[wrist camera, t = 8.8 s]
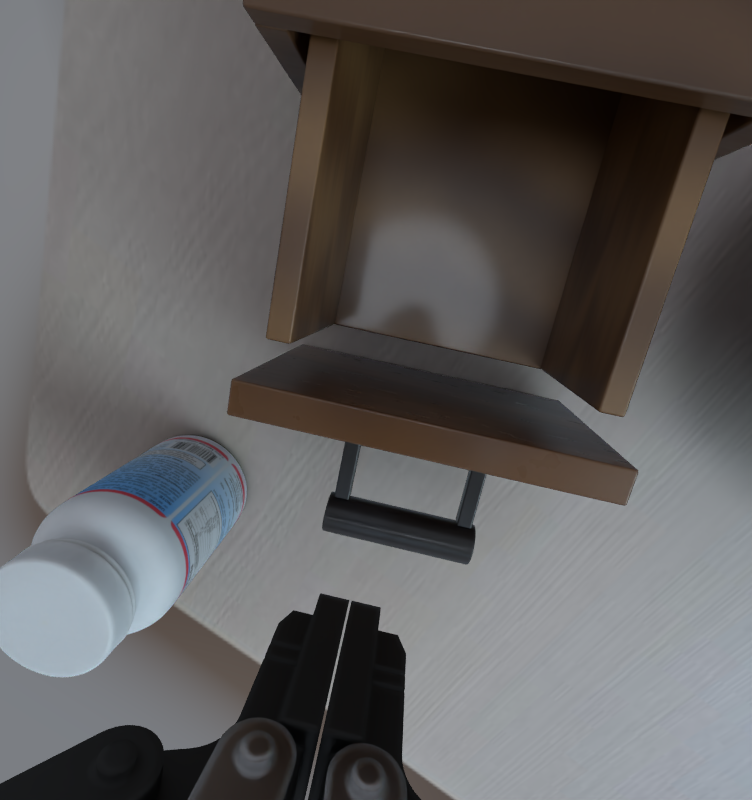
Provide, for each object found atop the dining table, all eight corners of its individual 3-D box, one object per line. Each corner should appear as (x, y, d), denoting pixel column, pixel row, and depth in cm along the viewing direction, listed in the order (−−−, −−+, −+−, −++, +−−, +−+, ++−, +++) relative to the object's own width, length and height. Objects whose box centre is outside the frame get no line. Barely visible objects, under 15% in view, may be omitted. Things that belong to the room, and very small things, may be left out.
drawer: (521, 522, 25) (573, 651, 16) (281, 466, 25) (206, 561, 17) (665, 59, 19) (857, -121, 11) (359, 2, 20) (308, -211, 11)
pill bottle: (124, 476, 27) (-75, 604, 16) (196, 410, 26) (31, 502, 15) (198, 553, 28) (55, 725, 17) (273, 492, 27) (168, 637, 16)
